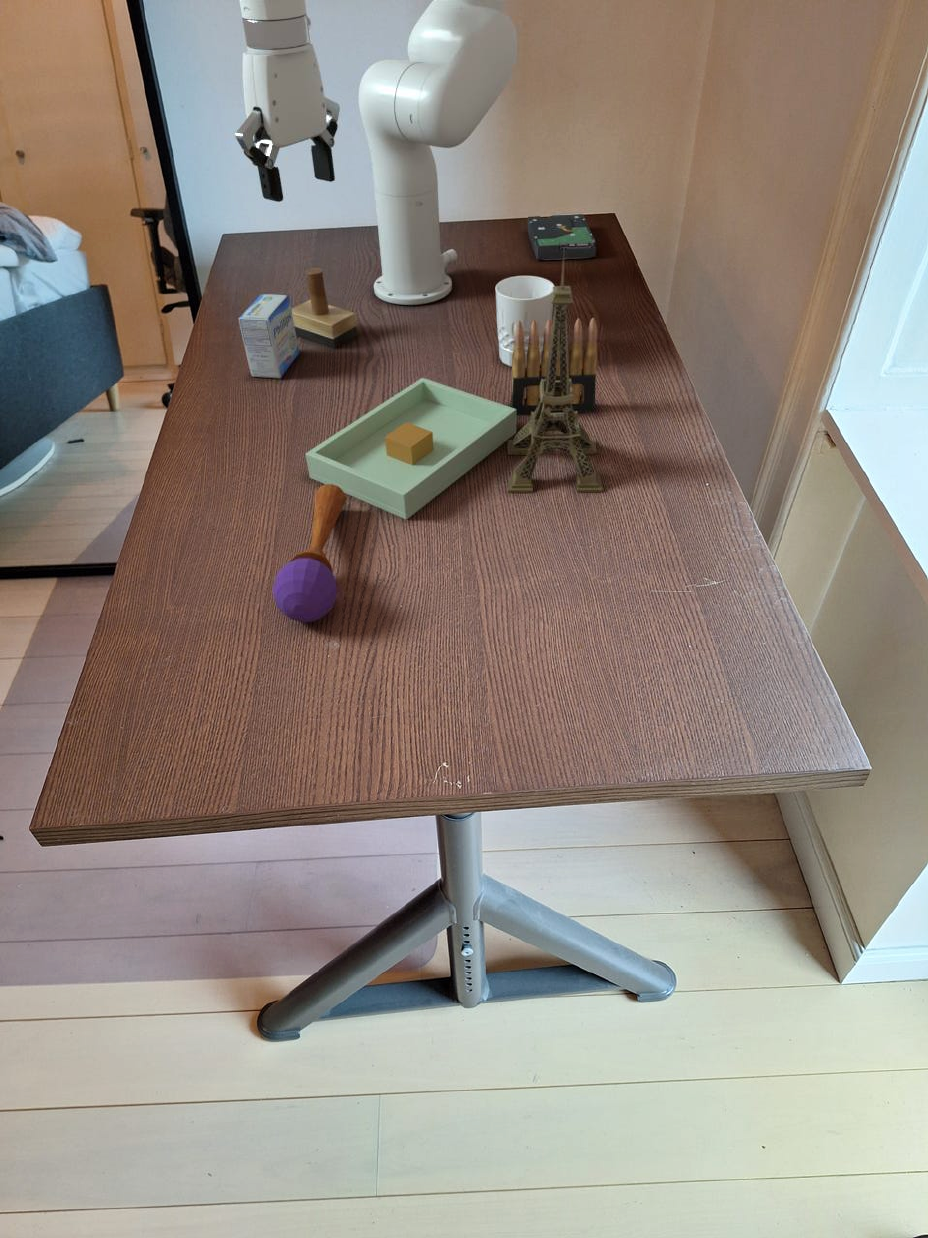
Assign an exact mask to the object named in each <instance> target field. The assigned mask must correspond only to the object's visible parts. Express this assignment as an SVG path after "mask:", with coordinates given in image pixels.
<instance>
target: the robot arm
mask: <svg viewBox="0 0 928 1238" xmlns="http://www.w3.org/2000/svg"><path fill="white" fill-rule="evenodd" d="M238 1H239V6H240V12H241V17H242V25H243V31H244V38H245V42H246V43H245V44H246V48H247V51H243V52H242V63H241V64H242V87H243V88H242V89H243V99H244V110H245V117H246V119H245V120H244V122H243V123H242V124H241V126H240V127H239V128H238V129H237V131H236V132H235V135H234V136H235V140H237V143H238V144H239V146H240V148H241V149H242V150H243V153H244V156H245V157H246V158H248V159H249V160H250V161H251V163H252V165H253V166H255V167H257V171H258V176H259V182H260V187H261V194H262V197H263V199H265V200H268V201H273V202H277V203H279V202H283V200H284V193H283V186H282V180H281V173H280V168H279V166H275V163H276V161H277V158H278V155H279V152H280V149H282V148H286V147H289V146H293V145H296V144H298V143H302V142H304V141H308V140H311V142H313V144H312V145H311V146H310V151H311V152H310V153H311V159H312V165H313V173H314V178H315V179H317V180H320V181H326V182H329V183H332V182H335V180H336V176H335V167H334V160H333V150H332V148H334V146H335V143H336V142H335V139H334V138H335V136H336V134H337V131H338V128H339V126H338V121H339V116H340V110H341V106H340V104H339V103H338V102H335V101H334V100H332V99H329V98H328V97H326V96H325V91H324V84H323V80H322V74H321V70H320V66H319V62H318V58H317V55H316V51H315V48H314V45H313V43H311V37H310V29H311V27H312V22H311V19H310V18H309V16H308V14H307V5H306V0H238ZM504 2H505V1H504V0H432V1H431V2H430V4H429V5H428V7H426V9H425V10H424V12H423V13H422V14H421V16H420V18H419V19H418V20H417V22H416V23H415V24H414V26H413V28H412V30H411V32H410V34H409V37H408V42H407V56H408V60H407V59H401V58H389V59H382V60H379V61H377V62H375V63H373V64H372V65H371V66H369V67H368V68H367V70H366V71H365V72H364V74H363V76H362V78H361V79H360V84H359V87H358V108H359V114H360V117H361V121H362V126H363V128H364V132H365V135H366V140H367V145H368V149H369V154H370V160H371V162H370V163H371V168H372V169H371V170H372V178H373V180H372V181H373V189H374V201H375V209H376V211H375V213H376V221H377V233H378V243H379V244H378V245H379V254H380V265H381V276H379V277H378V278H377V279H376V280H375V281H374V282H373V291H374V294H375V296H376V297H377V298H378V299H380V300H381V301H384V302H386V303H389V304H393V305H401V306H418V305H425V304H429V303H433V302H436V301H439V300H442V299H443V298H445V297H446V296H448V295H449V294H450V293H451V291H452V289H453V282H452V278H451V277H450V276H449V275H447V274H446V272H445V269H446V268H447V266H448V265H450V264H452V263H454V262H455V261H457V259H458V253H457V251H456V250H455V249H453V248H451V249H448V250H446V251H445V252H443V253H442V249H441V230H440V229H441V228H440V209H439V205H440V204H439V186H438V185H439V179H438V170H437V164H436V160H435V157H434V154H433V151H432V149H431V147H436V148H443V149H452V148H456V147H457V146H460V145H461V144H463V143H464V142H465V141H466V140H467V139H469V137H470V136H471V135H472V134H473V133H474V132H475V130H476V129H477V127H478V126H479V125H480V123H481V122H482V120H483V119H484V117H485V116H486V115H487V113H488V112H489V111H490V109H492V107H493V105H494V104H495V102H496V101H497V99H498V98H499V97H500V95H501V94H502V93H503V92H504V89H505V88H506V86H507V85H508V84H509V82H510V80H511V77H512V75H513V72H514V70H515V66H516V62H517V58H518V52H519V51H518V49H519V42H518V34H517V30H516V27H515V25H514V22H513V21H512V19H511V18H510V17H509V16H508V15H507V14H506V13H504V12H503V7H504Z"/></svg>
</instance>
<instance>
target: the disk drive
mask: <svg viewBox="0 0 928 1238" xmlns="http://www.w3.org/2000/svg"><path fill="white" fill-rule="evenodd" d="M587 222H588V221H587V220H586V217H585V216H584V214H583V213H579V214H578V213H577V214H575V213H574V214H554V215H550V216H549V217H546V218H545V217H544V218H543V217H541V216H540V215H535V216H527V224H526V225H527V226H526V227H527V228H526V230H527V235H528V236H529V240H530V243H531V245H532V250H533V252H534V255H535V258H536V260H537V261H538V260H541V261H550V260H551V261H552V260H563V254H564V260H570V259H572V260H573V259H590V258H592V257H593V258H595V257H596V253H597V251H596V250H597V245H596V239H595V236H594V235H593V233H592V231H591V229H590V226H589V225H588V223H587ZM564 247H565V251H564Z"/></svg>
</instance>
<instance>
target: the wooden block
mask: <svg viewBox="0 0 928 1238" xmlns="http://www.w3.org/2000/svg"><path fill="white" fill-rule="evenodd" d="M385 443H386V452H387V455H388V456H390V457H393V458H395V459H398V460H400V461H403V462H405V463H408V464H410V465H414V464H415V463H417V462H418V461H420V460H421V459H422V458H424V457H425V456H426V455H428V454H429V453H430V452H432V451H433V450H434V448H433V432H431V431H428V430H426V429H423V428H420V427H418V426H415V425H412V424H410V423H407V422H406V423H405V424H403V425H402V426H400V427H399V428H397V429H396V430H394V431H393V432H391V433H390V434H389V435H387V436H386V437H385Z"/></svg>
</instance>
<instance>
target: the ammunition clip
mask: <svg viewBox="0 0 928 1238" xmlns="http://www.w3.org/2000/svg"><path fill="white" fill-rule="evenodd" d="M552 325H553V321H552V322H551V320H550V319H549V320H548V322H547V324H546V327H545V332H544V342H543V350H542V354H541V365H540V352H539V333H538V327H537V323H536V321H535V320H533V322H532V325H531V328H530V334H529V344H528V352H527V365H526V368H525V350H524V332H523V327H522V324H521V321H518V323H517V325H516V329H515V336H514V350H513V355H512V367H511V387H510V389H511V390H510V404H509V407H511V408H514V409H516V410H517V411H516V416H524V415H531V412H535V410H536V408H537V407H538V404H539V401H540V383H541V379H545V378H546V370H547V363H548V355H549V347H550V339H551V332H552ZM586 335H587V336H586V342H585V348H584V349H583V324H582V320H581V318H579V317H578V318H577V319H576V321H575V324H574V327H573V332H572V340H571V347H570V349H569V350H570V352H569V350H568V353H569V379H571V381H572V389H573V398H574V402H573V403H571V404H572V407H573V410H574V412H575V411H577V413H593V412H594V411H595V410H596V381H597V380H596V379H597V378H596V377H597V375H596V374H597V363H598V362H597V361H598V347H597V345H598V326H597V321H596V318H595V317H592V318H591V319H590V321H589V325H588V328H587V333H586ZM555 381H560V341H559V353H558V362H557V371H556V380H555ZM550 413H564V412H563V410H551V412H550Z"/></svg>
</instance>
